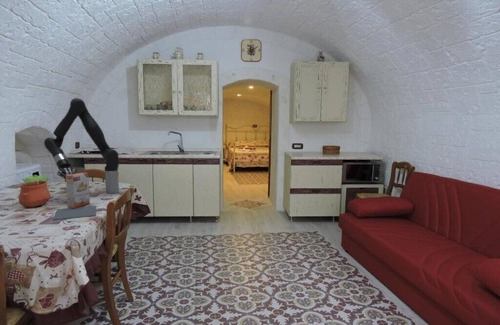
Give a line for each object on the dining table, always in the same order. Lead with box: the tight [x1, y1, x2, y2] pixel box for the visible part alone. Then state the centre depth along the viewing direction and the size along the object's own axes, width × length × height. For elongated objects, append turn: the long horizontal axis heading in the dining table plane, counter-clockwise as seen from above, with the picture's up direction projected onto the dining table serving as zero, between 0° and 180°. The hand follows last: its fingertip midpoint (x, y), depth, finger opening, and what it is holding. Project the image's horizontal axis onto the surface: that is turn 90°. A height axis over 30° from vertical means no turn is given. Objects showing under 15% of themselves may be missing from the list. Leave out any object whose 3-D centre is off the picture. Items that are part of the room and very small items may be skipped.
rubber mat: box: [52, 205, 97, 221], centre depth 197 cm, size 22×22×1 cm
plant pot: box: [72, 167, 86, 174], centre depth 260 cm, size 15×15×16 cm
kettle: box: [21, 174, 50, 184], centre depth 258 cm, size 15×14×11 cm
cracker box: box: [65, 172, 91, 208], centre depth 210 cm, size 14×6×21 cm, turn 169°
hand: (72, 182), depth 214 cm, fingers closed
